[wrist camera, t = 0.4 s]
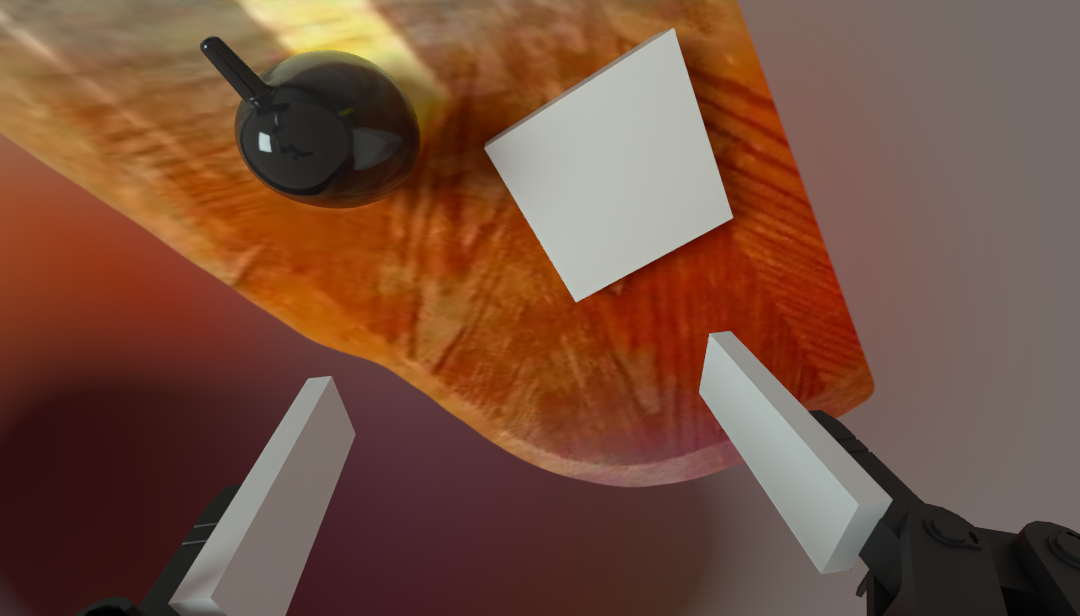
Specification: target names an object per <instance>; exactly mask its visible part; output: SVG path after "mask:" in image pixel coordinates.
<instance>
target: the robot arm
mask: <svg viewBox="0 0 1080 616" xmlns="http://www.w3.org/2000/svg"><path fill="white" fill-rule="evenodd" d="M699 393H700V395H701V396H702V398H703V399H704V401H705V402H706V404H707V405H708V407H709V408H710V410H711V411H712V413H713V414H714V416H715V417H716V419H717V420H718V422H719V423H720V424H721V426H722V427H723V429H724V430H725V432H726V433H727V435H728V436H729V438H730V439H731V441H732V442H733V444H734V445H735V447H736V448H737V450H738V451H739V453H740V454H741V456H742V457H743V459H744V460H745V462H746V463H747V465H748V466H749V468H750V469H751V471H752V472H753V474H754V475H755V476H756V478H757V479H758V481H759V483H760V484H761V485H762V487H763V489H764V490H765V492H766V493H767V494H768V496H769V497H770V499H771V500H772V502H773V503H774V505H775V506H776V508H777V509H778V511H779V512H780V514H781V515H782V517H783V518H784V520H785V521H786V523H787V524H788V526H789V527H790V529H791V530H792V532H793V533H794V535H795V536H796V538H797V539H798V541H799V542H800V544H801V545H802V546H803V548H804V549H805V551H806V552H807V554H808V556H809V557H810V558H811V560H812V561H813V563H814V564H815V566H816V567H817V569H818V570H819V572H820V573H821V574H826V573H832V572H839V571H846V570H851V568H852V566H853V564H854V563H855V561H856V560H857V558H858V557H859V556H860V557H861V559H862V560H863V561H864V563H865V564H866V565H867V566H868V568H869V571H868V572H867V574H866V576H865V577H864V579H863V580H862V582H861V583H860V585H859V586H858V589H857V592H856V595H857V596H859V597H862V596H863V594H864V592H865V591H866V592H867V616H1080V534H1079V533H1077V532H1075V531H1073V530H1071V529H1069V528H1066V527H1063V526H1060V525H1057V524H1054V523H1051V522H1041V521H1035V522H1032V523H1029V524H1027V525H1026V526H1025V527H1024V528H1023V529H1022V530H1021V531H1020V532H1019V533H1018V534H1014V533H1009V532H1003V531H996V530H990V529H984V528H978V527H974V526H973V525H972V524H970V523H969V522H967V521H966V520H965V519H963V518H962V517H960V516H959V515H957V514H955V513H953V512H951V511H949V510H947V509H945V508H942V507H938V506H935V505H931V504H925V503H924V502H923V501H922V500H921V499H919V498H918V497H917V496H916V495H915V494H914V493H913V492H912V491H911V490H910V489H909V488H908V487H907V486H906V485H905V484H904V483H903V482H902V481H901V480H900V479H899V478H898V477H897V476H895V475H894V474H893V473H892V472H891V471H890V470H889V469H888V468H887V467H886V466H885V465H884V464H883V463H882V462H881V461H880V460H879V459H878V458H877V457H876V456H875V455H874V454H873V453H872V452H869V451H868V448H867V447H865V445H863V443H861V442H860V441H859V440H856V438H855V436H854V435H853V434H852V433H851V432H850V431H849V430H848V429H847V428H846V427H845V426H844V425H843V424H842V423H841V422H839V421H838V420H836V419H835V418H833V417H831V416H830V415H828V414H826V413H825V412H823V411H821V410H815V411H807V410H806V409H805V408H804V407H803V406H802V405H801V404H800V403H799V402H798V401H797V400H796V399H795V398H794V397H793V396H792V395H791V393H790V392H789V391H788V390H787V389H786V388H785V387H784V386H783V385H782V384H781V383H780V382H779V381H778V380H777V379H776V378H775V377H774V376H773V375H772V374H771V373H770V372H769V371H768V370H767V369H766V368H765V367H764V365H763V364H762V363H761V362H760V361H759V360H758V359H757V358H756V357H755V356H754V355H753V354H752V353H751V352H750V351H749V350H748V349H747V348H746V347H745V346H744V345H743V344H742V343H741V342H740V341H739V340H738V339H737V338H736V336H735V335H734V334H733V333H732V332H731V331H728V332H719V333H710V334H709V340H708V345H707V351H706V357H705V362H704V368H703V373H702V379H701V384H700V390H699ZM354 437H355V432H354V430H353V427H352V425H351V422H350V420H349V417H348V415H347V412H346V410H345V408H344V405H343V403H342V400H341V398H340V396H339V393H338V391H337V388H336V386H335V383H334V381H333V378H332V376H328V377H319V378H310V379H308V380H307V381H306V383H305V385H304V386H303V388H302V389H301V391H300V393H299V394H298V396H297V397H296V399H295V401H294V402H293V404H292V406H291V407H290V409H289V411H288V412H287V413H286V415H285V417H284V418H283V420H282V421H281V423H280V425H279V426H278V428H277V430H276V431H275V433H274V435H273V436H272V438H271V439H270V441H269V442H268V444H267V446H266V447H265V449H264V451H263V452H262V454H261V455H260V457H259V459H258V460H257V462H256V463H255V465H254V466H253V468H252V470H251V471H250V473H249V475H248V476H247V478H246V479H245V481H244V483H243V484H241V485H233V486H227V487H226V488H225V489H224V490H223V491H222V492H221V493H220V494H219V495H218V496H217V497H216V498H214V499H213V501H211V502H210V503H209V504H208V505H207V507H206V508H205V510H204V511H203V513H202V514H201V515H200V517H199V518H198V520H197V521H196V523H195V525H194V529H191V530H190V532H189V533H188V535H187V536H186V538H185V539H184V541H183V542H182V543H183V545H182V546H181V547H179V548H178V550H177V551H176V553H175V554H174V556H173V557H172V559H171V560H170V561H169V563H168V564H167V566H166V567H165V569H164V570H163V572H162V573H161V575H160V576H159V578H158V579H157V581H156V582H155V584H154V585H153V587H152V588H151V590H150V591H149V593H148V594H147V596H146V597H145V599H144V600H143V602H142V603H141V604H140V606H139V607H137V606H136V605H135V604H134V603H132V602H131V601H130V600H129V599H128V598H123V597H119V596H116V597H112V598H107V599H103V600H100V601H98V602H96V603H94V604H92V605H91V606H89V607H87V608H85V609H83V610H81V611H80V612H79V613H77V614H76V615H75V616H285V614H286V612H287V609H288V607H289V604H290V602H291V599H292V596H293V594H294V591H295V589H296V586H297V584H298V581H299V578H300V576H301V573H302V571H303V568H304V566H305V563H306V560H307V558H308V555H309V553H310V550H311V547H312V545H313V542H314V540H315V537H316V534H317V532H318V529H319V527H320V524H321V522H322V519H323V517H324V514H325V512H326V509H327V506H328V504H329V501H330V498H331V496H332V494H333V491H334V488H335V486H336V483H337V481H338V478H339V475H340V473H341V470H342V467H343V465H344V462H345V460H346V457H347V455H348V452H349V450H350V447H351V445H352V442H353V439H354Z"/></svg>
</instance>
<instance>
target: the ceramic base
mask: <svg viewBox="0 0 1080 616" xmlns="http://www.w3.org/2000/svg"><path fill="white" fill-rule="evenodd" d="M484 149H485V151H486V152H487V154H488V156H489V157H490V159H491V161H492V162H493V164H494V166H495V167H496V169H497V171H498V172H499V174H500V176H501V177H502V179H503V181H504V182H505V184H506V186H507V187H508V189H509V191H510V192H511V194H512V196H513V198H514V199H515V201H516V203H517V204H518V206H519V208H520V209H521V211H522V213H523V214H524V216H525V218H526V219H527V221H528V223H529V224H530V226H531V228H532V229H533V231H534V233H535V234H536V236H537V238H538V239H539V241H540V243H541V245H542V246H543V248H544V250H545V251H546V253H547V255H548V256H549V258H550V260H551V261H552V263H553V265H554V266H555V268H556V270H557V271H558V273H559V275H560V276H561V278H562V280H563V281H564V283H565V285H566V286H567V288H568V290H569V292H570V293H571V295H572V297H573V298H574V300H575V302H578V301H579V300H581V299H583V298H585V297H587V296H589V295H591V294H592V293H594V292H596V291H598V290H600V289H602V288H604V287H606V286H607V285H609V284H611V283H613V282H615V281H617V280H619V279H620V278H622V277H624V276H626V275H628V274H630V273H632V272H633V271H635V270H637V269H639V268H641V267H643V266H645V265H646V264H648V263H650V262H652V261H654V260H656V259H658V258H659V257H661V256H663V255H665V254H667V253H669V252H671V251H673V250H674V249H676V248H678V247H680V246H682V245H684V244H686V243H687V242H689V241H691V240H693V239H695V238H697V237H699V236H700V235H702V234H704V233H706V232H708V231H710V230H712V229H713V228H715V227H717V226H719V225H721V224H723V223H725V222H726V221H728V220H730V219H732V218H733V216H732V212H731V209H730V206H729V203H728V200H727V197H726V193H725V190H724V187H723V184H722V181H721V177H720V174H719V171H718V168H717V165H716V161H715V158H714V155H713V152H712V149H711V146H710V142H709V139H708V136H707V133H706V130H705V126H704V123H703V120H702V117H701V114H700V110H699V107H698V104H697V101H696V98H695V95H694V91H693V88H692V85H691V82H690V79H689V75H688V72H687V69H686V66H685V63H684V59H683V56H682V53H681V50H680V47H679V44H678V40H677V37H676V34H675V31H674V28H672V29H669V30H666V31H664V32H661V33H658V34H655V35H653V36H652V37H650V38H648V39H647V40H645V41H644V42H642V43H641V44H639V45H637V46H636V47H634V48H633V49H631V50H630V51H628V52H626V53H625V54H623V55H622V56H620V57H619V58H617V59H615V60H614V61H612V62H611V63H609V64H608V65H606V66H604V67H603V68H601V69H600V70H598V71H597V72H595V73H593V74H592V75H590V76H589V77H587V78H586V79H584V80H582V81H581V82H579V83H578V84H576V85H575V86H573V87H571V88H570V89H568V90H567V91H565V92H564V93H562V94H560V95H559V96H557V97H556V98H554V99H553V100H551V101H549V102H548V103H546V104H545V105H543V106H542V107H540V108H538V109H537V110H535V111H534V112H532V113H531V114H529V115H527V116H526V117H524V118H523V119H521V120H520V121H518V122H516V123H515V124H513V125H512V126H510V127H509V128H507V129H505V130H504V131H502V132H501V133H499V134H498V135H496V136H494V137H493V138H491V139H490V140H488V141H487V142H485V146H484Z"/></svg>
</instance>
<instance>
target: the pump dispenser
mask: <svg viewBox="0 0 1080 616" xmlns="http://www.w3.org/2000/svg"><path fill="white" fill-rule="evenodd" d="M200 49H201V51H202V52H203V54H204V55H205V56H206V57H207V58H208V59H209V60H210V62H211V63H212V64H213V65H214V66H215V67H216V69H217V70H218V71H219V72H220V73H221V74H222V75H223V77H224V78H225V79H226V80H227V81H228V82H229V83H230V85H231V86H232V87H233V88H234V89H235V90H236V92H237V93H238V94H239V95H240V96H241V97H242V100H241V102H240V104H239V107H238V109H237V113H236V117H235V125H234V129H235V139H236V143H237V147H238V150H239V152H240V155H241V157H242V159H243V161H244V162H245V164H246V165H247V167H248V168H249V169H250V171H251V172H252V173H253V174H254V175H255V176H256V178H258V179H259V180H260V181H261V182H262V183H263V184H264V185H266V186H267V187H268V188H270V189H271V190H273V191H274V192H276V193H278V194H280V195H281V196H284V197H286V198H288V199H291V200H293V201H296V202H299V203H303V204H307V205H311V206H316V207H323V208H336V209H342V208H354V207H360V206H364V205H368V204H371V203H374V202H377V201H379V200H382V199H384V198H386V197H388V196H390V195H391V194H393V193H394V192H396V191H397V190H398V189H399V188H400V187H401V186H403V185H404V183H405V182H406V181H407V180H408V179H409V177H410V176H411V174H412V172H413V170H414V168H415V166H416V163H417V160H418V157H419V151H420V131H419V125H418V121H417V117H416V114H415V112H414V109H413V107H412V105H411V103H410V101H409V99H408V97H407V96H406V94H405V93H404V91H403V90H402V88H401V87H400V86H399V85H398V83H397V82H396V81H395V80H394V79H393V78H392V77H391V76H390V75H389V74H388V73H387V72H385V71H384V70H383V69H381V68H380V67H379V66H377V65H376V64H374V63H372V62H371V61H369V60H367V59H365V58H362V57H360V56H357V55H354V54H351V53H347V52H342V51H335V50H318V51H310V52H305V53H300V54H296V55H293V56H290V57H287V58H285V59H282V60H280V61H278V62H276V63H275V64H273V65H271V66H270V67H269V68H267V69H266V70H265V71H263V72H262V73H261V74H260V75H258V74H257V73H256V72H255V71H254V70H252V69H251V68H250V67H249V66H248V65H247V64H246V63H245V62H244V61H243V60H242V59H241V58H240V57H239V56H238V55H237V54H236V53H235V52H234V51H233V50H232V49H231V48H230V47H229V46H228V45H227V44H226V43H225V42H224V41H223V40H222V39H221V38H220V37H218V36H210V37H208V38H206V39H204V40H203V41H202V42H201V44H200Z"/></svg>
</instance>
